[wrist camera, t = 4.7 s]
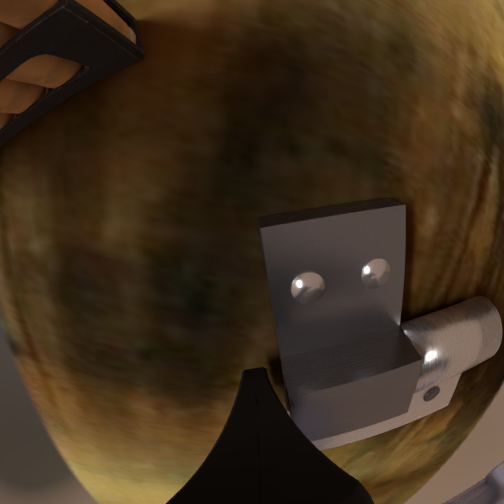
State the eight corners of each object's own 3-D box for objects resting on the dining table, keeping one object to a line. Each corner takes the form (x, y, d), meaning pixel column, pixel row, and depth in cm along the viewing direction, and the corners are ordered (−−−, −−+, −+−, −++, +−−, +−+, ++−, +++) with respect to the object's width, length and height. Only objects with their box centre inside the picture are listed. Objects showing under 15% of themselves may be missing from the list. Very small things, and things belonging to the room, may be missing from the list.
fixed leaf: (439, 393, 14) (461, 426, 11) (291, 440, 14) (299, 484, 11) (469, 285, 11) (509, 316, 8) (274, 336, 11) (286, 394, 8)
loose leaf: (380, 366, 12) (407, 412, 9) (284, 389, 12) (295, 444, 9) (388, 197, 10) (441, 220, 7) (257, 218, 10) (267, 252, 7)
